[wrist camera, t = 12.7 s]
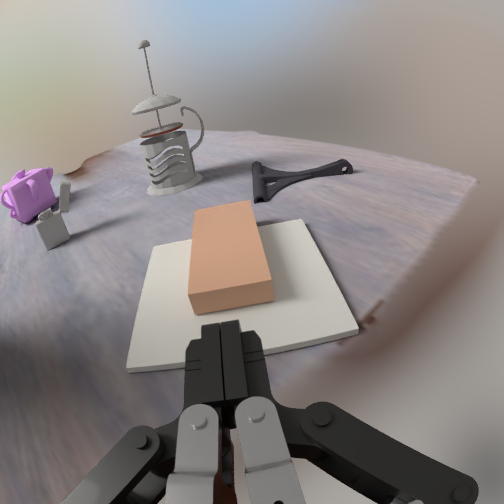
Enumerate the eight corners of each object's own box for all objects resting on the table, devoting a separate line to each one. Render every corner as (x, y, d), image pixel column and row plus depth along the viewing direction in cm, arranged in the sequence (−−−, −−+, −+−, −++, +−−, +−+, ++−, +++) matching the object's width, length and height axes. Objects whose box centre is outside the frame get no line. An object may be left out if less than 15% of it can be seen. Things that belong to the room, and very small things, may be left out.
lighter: (47, 250, 38) (25, 201, 34) (46, 246, 39) (26, 199, 35) (87, 229, 41) (69, 179, 37) (85, 226, 43) (68, 178, 38)
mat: (129, 373, 20) (125, 367, 19) (155, 251, 33) (153, 246, 33) (358, 334, 20) (359, 328, 20) (301, 223, 33) (301, 218, 33)
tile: (187, 294, 22) (194, 210, 34) (195, 316, 23) (199, 227, 35) (271, 279, 22) (249, 199, 34) (274, 302, 23) (252, 217, 35)
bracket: (367, 195, 39) (367, 175, 37) (254, 208, 40) (251, 188, 38) (339, 162, 51) (338, 147, 49) (252, 172, 52) (250, 156, 50)
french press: (148, 181, 55) (118, 52, 41) (209, 166, 56) (184, 35, 42) (144, 201, 46) (106, 46, 33) (216, 183, 48) (186, 25, 34)
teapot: (4, 223, 55) (-12, 185, 50) (48, 195, 65) (35, 158, 59) (21, 235, 46) (1, 186, 41) (76, 199, 55) (61, 153, 50)
